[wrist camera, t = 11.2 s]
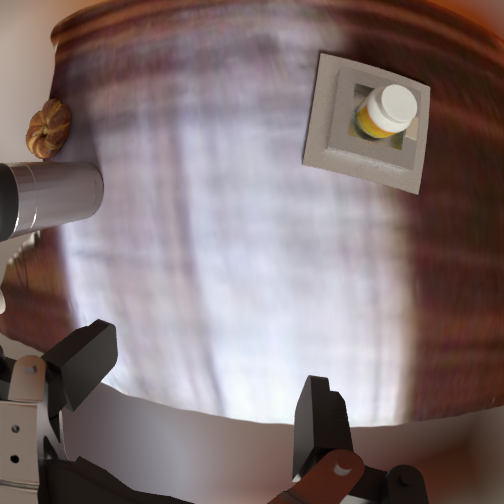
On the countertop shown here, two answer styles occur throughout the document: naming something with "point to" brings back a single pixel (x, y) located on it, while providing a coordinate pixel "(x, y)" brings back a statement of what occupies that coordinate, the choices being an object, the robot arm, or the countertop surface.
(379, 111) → the supplement bottle
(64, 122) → the pretzel
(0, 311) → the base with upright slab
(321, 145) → the white square holder
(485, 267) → the countertop surface
